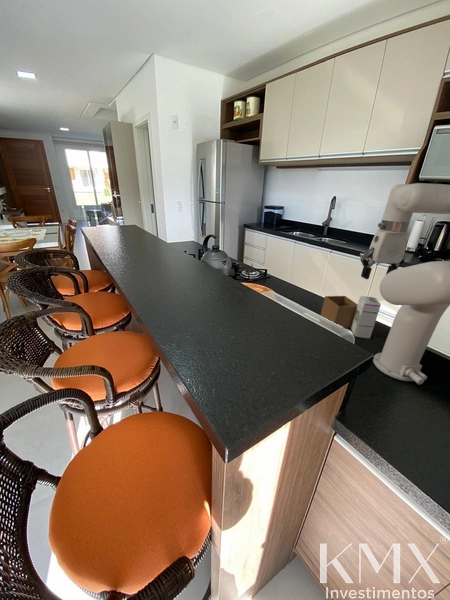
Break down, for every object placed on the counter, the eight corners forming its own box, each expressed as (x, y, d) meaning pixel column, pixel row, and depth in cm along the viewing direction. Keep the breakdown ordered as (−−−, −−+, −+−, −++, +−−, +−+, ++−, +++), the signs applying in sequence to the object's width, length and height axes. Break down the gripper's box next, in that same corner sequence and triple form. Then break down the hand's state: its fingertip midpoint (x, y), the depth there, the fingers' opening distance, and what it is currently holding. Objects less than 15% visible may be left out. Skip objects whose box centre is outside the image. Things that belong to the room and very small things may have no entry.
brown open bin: (354, 327, 99) (360, 306, 95) (333, 328, 98) (338, 306, 94) (339, 315, 108) (345, 295, 104) (320, 316, 107) (324, 296, 103)
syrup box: (370, 339, 92) (382, 303, 86) (353, 336, 93) (364, 301, 87) (365, 331, 97) (376, 297, 91) (349, 328, 98) (359, 295, 92)
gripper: (377, 228, 74) (361, 281, 81) (427, 229, 77) (407, 281, 84) (361, 224, 81) (348, 274, 88) (407, 226, 84) (390, 274, 91)
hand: (377, 277), depth 86 cm, fingers open, 9 cm apart
